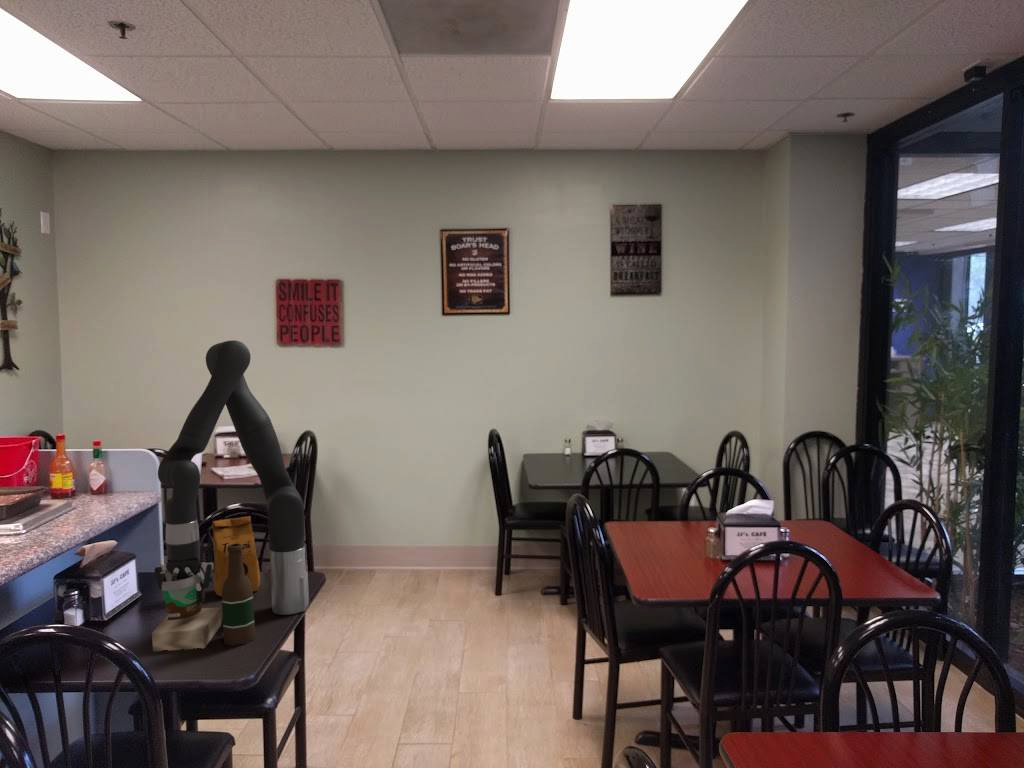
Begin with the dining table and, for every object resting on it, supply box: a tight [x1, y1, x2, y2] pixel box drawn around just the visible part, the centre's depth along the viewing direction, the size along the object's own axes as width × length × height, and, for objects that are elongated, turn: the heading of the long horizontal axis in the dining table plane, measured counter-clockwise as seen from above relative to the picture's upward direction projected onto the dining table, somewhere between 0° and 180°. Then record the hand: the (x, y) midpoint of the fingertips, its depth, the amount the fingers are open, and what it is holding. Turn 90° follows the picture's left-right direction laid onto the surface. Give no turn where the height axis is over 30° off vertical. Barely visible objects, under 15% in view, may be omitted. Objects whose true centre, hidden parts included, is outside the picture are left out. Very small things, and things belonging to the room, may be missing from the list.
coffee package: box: [211, 515, 261, 597], centre depth 216 cm, size 10×12×22 cm
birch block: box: [151, 606, 222, 652], centre depth 185 cm, size 12×14×5 cm
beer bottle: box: [221, 543, 256, 647], centre depth 183 cm, size 8×8×24 cm
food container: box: [161, 567, 205, 620], centre depth 185 cm, size 12×6×10 cm, turn 169°
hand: (186, 604), depth 185 cm, fingers closed on food container, 5 cm apart
